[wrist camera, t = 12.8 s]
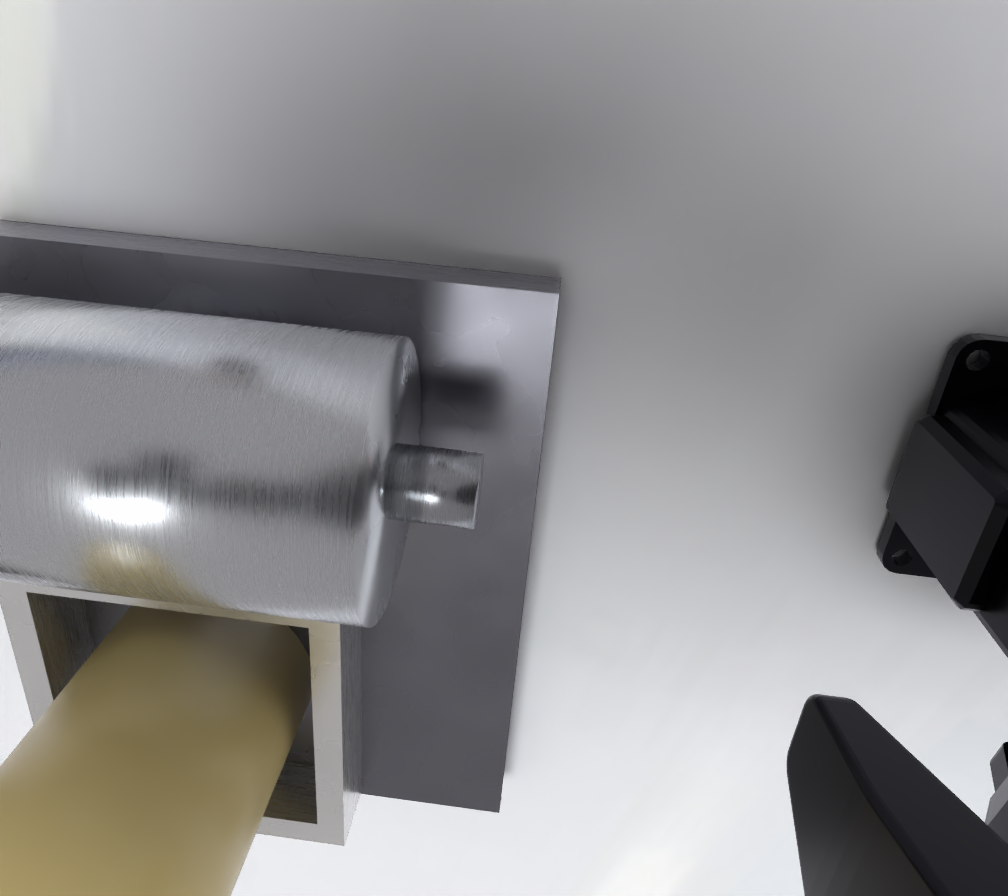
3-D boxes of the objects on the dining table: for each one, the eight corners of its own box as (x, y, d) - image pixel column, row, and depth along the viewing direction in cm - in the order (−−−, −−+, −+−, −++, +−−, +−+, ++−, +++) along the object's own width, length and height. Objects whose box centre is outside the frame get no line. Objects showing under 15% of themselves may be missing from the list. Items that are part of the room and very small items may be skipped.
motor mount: (561, 278, 18) (548, 395, 11) (503, 774, 25) (475, 1021, 19) (-1, 219, 19) (-331, 297, 12) (105, 720, 26) (-59, 940, 19)
